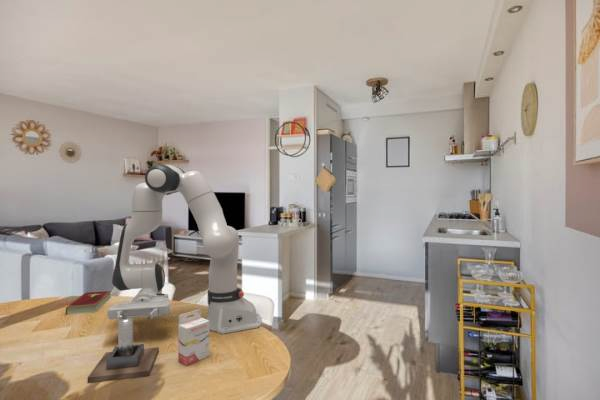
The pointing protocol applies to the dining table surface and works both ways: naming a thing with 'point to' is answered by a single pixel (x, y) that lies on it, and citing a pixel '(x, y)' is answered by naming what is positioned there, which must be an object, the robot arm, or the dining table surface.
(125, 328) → the steel pin
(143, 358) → the socket board
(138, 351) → the socket collar
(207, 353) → the ink cartridge box
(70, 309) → the hardcover book
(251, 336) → the dining table surface
